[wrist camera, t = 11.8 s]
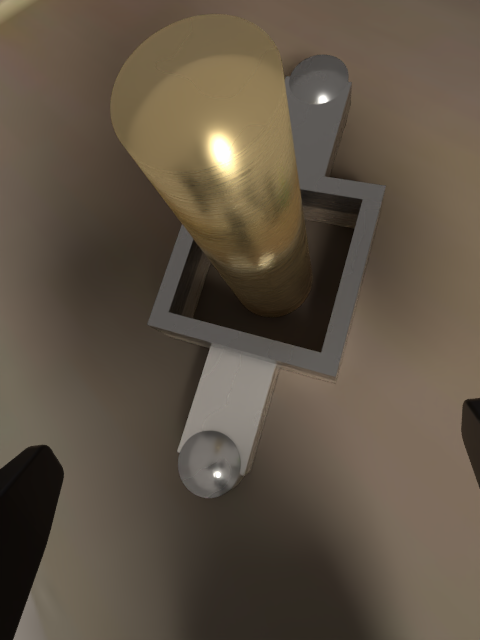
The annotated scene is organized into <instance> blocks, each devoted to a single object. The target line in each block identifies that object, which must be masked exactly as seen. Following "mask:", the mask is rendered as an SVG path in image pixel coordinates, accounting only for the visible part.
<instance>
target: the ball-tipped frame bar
mask: <svg viewBox="0 0 480 640" xmlns="http://www.w3.org/2000/svg"><path fill="white" fill-rule="evenodd" d="M285 87H286V94H287V101H288V108H289V115H290V122H291V129H292V136H293V143H294V150H295V157H296V164H297V171H298V178H299V185H300V192H301V199H302V206H303V213H304V219H305V220H311V221H316V222H322V223H327V224H332V225H338V226H343V227H349V228H354V229H355V230H354V233H353V237H352V241H351V244H350V248H349V252H348V256H347V259H346V263H345V267H344V270H343V274H342V278H341V281H340V285H339V289H338V292H337V296H336V300H335V304H334V307H333V311H332V315H331V318H330V322H329V326H328V329H327V333H326V337H325V340H324V344H323V348H322V352H321V353H320V352H317V351H313V350H309V349H305V348H302V347H298V346H294V345H290V344H286V343H283V342H279V341H275V340H271V339H268V338H264V337H260V336H256V335H253V334H249V333H245V332H241V331H237V330H234V329H230V328H226V327H222V326H219V325H215V324H211V323H207V322H204V321H200V320H196V319H192V318H193V315H194V312H195V309H196V306H197V303H198V300H199V297H200V294H201V291H202V288H203V285H204V282H205V279H206V276H207V273H208V270H209V267H210V264H211V262H210V260H209V259H208V258H207V256H206V255H205V254H204V252H203V251H202V250H201V248H200V247H199V246H198V244H197V243H196V242H195V240H194V239H193V238H192V236H191V235H190V234H189V232H188V231H187V230H186V228H185V227H184V226H183V224H182V226H181V229H180V231H179V234H178V237H177V240H176V243H175V246H174V249H173V252H172V254H171V257H170V260H169V263H168V266H167V269H166V272H165V275H164V278H163V280H162V283H161V286H160V289H159V292H158V295H157V298H156V301H155V303H154V306H153V309H152V312H151V315H150V318H149V321H148V324H147V325H149V326H151V327H152V328H154V329H156V330H158V331H160V332H162V333H164V334H165V335H167V336H169V337H171V338H174V339H178V340H181V341H185V342H189V343H192V344H196V345H199V346H203V347H206V348H210V350H209V353H208V356H207V359H206V362H205V366H204V369H203V372H202V375H201V378H200V381H199V385H198V388H197V391H196V394H195V397H194V400H193V403H192V407H191V410H190V413H189V416H188V419H187V422H186V425H185V429H184V432H183V435H182V438H181V441H180V444H179V448H178V451H177V452H180V454H179V458H178V471H179V475H180V478H181V480H182V482H183V484H184V485H185V486H186V488H187V489H188V490H189V491H191V492H192V493H193V494H195V495H197V496H199V497H203V498H215V497H218V496H221V495H223V494H225V493H226V492H228V491H229V490H231V489H233V488H234V487H236V486H237V485H238V484H239V483H240V482H241V480H242V479H243V477H244V475H246V474H248V473H249V472H250V471H251V468H252V464H253V461H254V457H255V454H256V450H257V447H258V443H259V440H260V436H261V433H262V429H263V426H264V422H265V419H266V415H267V412H268V408H269V405H270V401H271V398H272V394H273V391H274V387H275V384H276V380H277V377H278V373H279V370H280V368H281V369H284V370H288V371H291V372H295V373H298V374H302V375H305V376H309V377H312V378H316V379H320V380H323V381H327V382H330V383H334V384H336V380H337V376H338V372H339V368H340V364H341V361H342V357H343V353H344V349H345V345H346V342H347V338H348V334H349V330H350V326H351V322H352V319H353V315H354V311H355V307H356V303H357V299H358V296H359V292H360V288H361V284H362V280H363V276H364V273H365V269H366V265H367V261H368V257H369V254H370V250H371V246H372V242H373V238H374V234H375V231H376V227H377V223H378V219H379V215H380V210H381V206H382V201H383V196H384V192H385V187H386V186H383V185H377V184H370V183H364V182H357V181H351V180H344V179H338V178H331V177H330V175H331V171H332V168H333V164H334V161H335V157H336V154H337V150H338V147H339V143H340V140H341V137H342V133H343V130H344V128H345V125H346V120H347V116H348V112H349V109H350V105H351V87H352V82H348V70H347V68H346V66H345V64H344V63H343V62H342V61H341V60H340V59H338V58H336V57H334V56H330V55H316V56H312V57H309V58H307V59H305V60H303V61H302V62H301V63H299V64H298V65H297V66H296V67H295V69H294V70H293V72H292V73H291V76H290V77H289V76H286V79H285Z"/></svg>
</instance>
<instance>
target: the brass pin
mask: <svg viewBox="0 0 480 640" xmlns="http://www.w3.org/2000/svg"><path fill="white" fill-rule="evenodd" d="M110 115H111V121H112V125H113V128H114V131H115V133H116V135H117V137H118V139H119V140H120V142H121V143H122V144H123V146H124V147H125V148H126V150H127V151H128V152H129V154H130V155H131V156H132V158H133V159H134V160H135V162H136V163H137V164H138V166H139V167H140V168H141V170H142V171H143V172H144V174H145V175H146V176H147V178H148V179H149V180H150V182H151V183H152V184H153V186H154V187H155V188H156V190H157V191H158V192H159V194H160V195H161V196H162V198H163V199H164V200H165V202H166V203H167V204H168V206H169V207H170V208H171V210H172V211H173V212H174V214H175V215H176V216H177V218H178V219H179V220H180V222H181V223H182V224H183V226H184V227H185V228H186V230H187V231H188V232H189V234H190V235H191V236H192V238H193V239H194V240H195V242H196V243H197V244H198V246H199V247H200V248H201V250H202V251H203V252H204V254H205V255H206V256H207V258H208V259H209V260H210V262H211V263H212V264H213V266H214V267H215V268H216V270H217V271H218V272H219V274H220V275H221V276H222V278H223V279H224V280H225V282H226V283H227V284H228V286H229V287H230V288H231V290H232V291H233V292H234V294H235V295H236V296H237V298H238V299H239V300H240V302H241V303H242V304H243V305H244V306H245V307H246V308H247V309H248V310H249V311H251V312H253V313H254V314H257V315H259V316H264V317H279V316H283V315H286V314H289V313H291V312H292V311H294V310H296V309H297V308H298V307H299V306H300V305H301V304H302V303H303V302H304V301H305V300H306V298H307V296H308V295H309V292H310V290H311V286H312V269H311V262H310V255H309V248H308V241H307V234H306V227H305V220H304V213H303V206H302V199H301V192H300V185H299V178H298V171H297V164H296V157H295V150H294V143H293V136H292V129H291V122H290V115H289V108H288V101H287V94H286V87H285V80H284V73H283V66H282V60H281V57H280V54H279V51H278V49H277V47H276V46H275V44H274V42H273V41H272V39H271V38H270V37H269V36H268V35H267V34H266V33H265V32H264V31H263V30H262V29H261V28H259V27H258V26H256V25H255V24H253V23H251V22H249V21H247V20H245V19H242V18H239V17H236V16H230V15H224V14H206V15H199V16H193V17H189V18H186V19H182V20H180V21H177V22H175V23H172V24H170V25H168V26H166V27H164V28H162V29H161V30H159V31H157V32H156V33H154V34H153V35H151V36H150V37H149V38H148V39H146V40H145V41H144V42H143V43H142V44H141V45H140V46H139V47H138V48H137V49H135V51H134V52H133V53H132V54H131V55H130V57H129V58H128V59H127V61H126V62H125V64H124V65H123V66H122V68H121V70H120V72H119V74H118V76H117V78H116V81H115V83H114V86H113V90H112V94H111V101H110Z"/></svg>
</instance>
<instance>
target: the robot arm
mask: <svg viewBox="0 0 480 640" xmlns="http://www.w3.org/2000/svg"><path fill="white" fill-rule="evenodd" d="M461 432H462V438H463V442H464V445H465V448H466V451H467V453H468V456H469V459H470V462H471V465H472V468H473V471H474V473H475V476H476V479H477V482H478V485H479V488H480V398H475V399H467V400H465V401H464V403H463V409H462V426H461ZM63 478H64V471H63V467H62V466H61V464H60V462H59V461H58V459H57V458H56V456H55V455H54V453H53V451H52V450H51V448H50V447H49V446H47V445H37V446H30V447H28V448H26V449H25V450H24V451H23V452H21V453H20V454H19V455H18V456H16V457H15V458H14V459H13V460H11V461H10V462H9V463H8V464H6V465H5V466H4V467H3V468H1V469H0V640H13V638H14V635H15V633H16V630H17V627H18V624H19V622H20V619H21V616H22V613H23V610H24V607H25V604H26V602H27V599H28V596H29V593H30V590H31V588H32V585H33V582H34V579H35V576H36V573H37V571H38V568H39V565H40V562H41V559H42V557H43V554H44V551H45V548H46V544H47V541H48V537H49V534H50V530H51V526H52V522H53V518H54V514H55V510H56V506H57V502H58V498H59V494H60V491H61V487H62V483H63Z"/></svg>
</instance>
